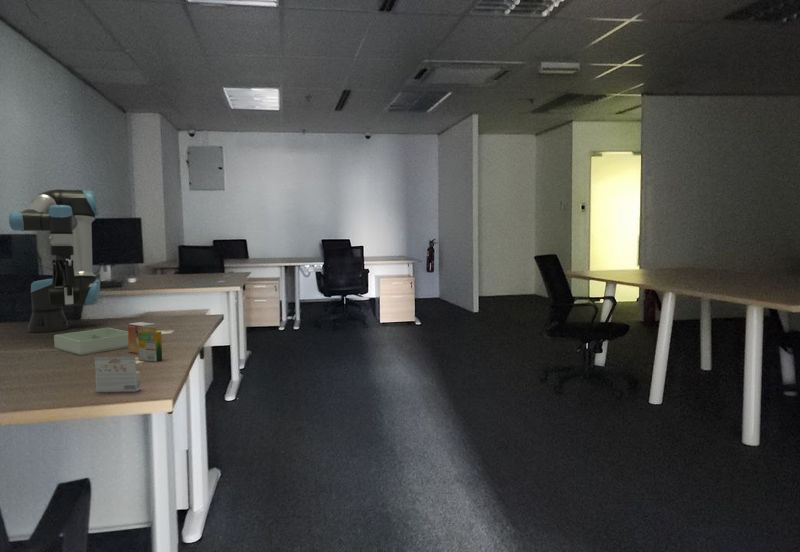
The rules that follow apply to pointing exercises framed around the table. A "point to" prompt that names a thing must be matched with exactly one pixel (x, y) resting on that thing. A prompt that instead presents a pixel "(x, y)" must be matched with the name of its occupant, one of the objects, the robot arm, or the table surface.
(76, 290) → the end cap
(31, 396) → the table surface
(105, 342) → the organizer tray
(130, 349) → the small box
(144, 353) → the crayon box
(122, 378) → the ink cartridge box
